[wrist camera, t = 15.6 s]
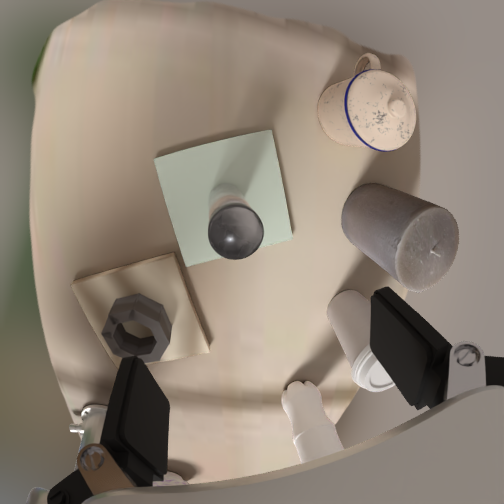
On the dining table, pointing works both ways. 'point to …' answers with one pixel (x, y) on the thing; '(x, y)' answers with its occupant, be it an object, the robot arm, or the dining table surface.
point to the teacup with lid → (368, 109)
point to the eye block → (142, 311)
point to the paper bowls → (170, 480)
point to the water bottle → (309, 422)
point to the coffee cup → (357, 339)
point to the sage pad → (218, 172)
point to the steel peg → (233, 223)
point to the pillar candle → (402, 234)
